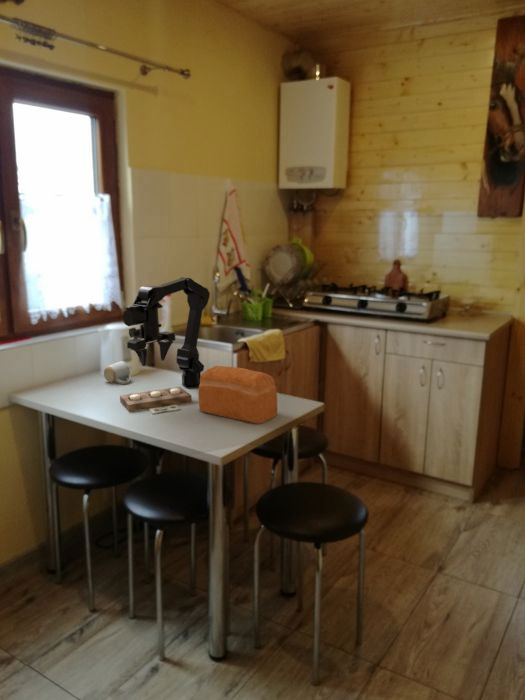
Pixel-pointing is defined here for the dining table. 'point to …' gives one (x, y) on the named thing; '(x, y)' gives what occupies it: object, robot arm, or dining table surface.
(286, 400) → the dining table surface
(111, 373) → the ceramic mug
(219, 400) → the bread
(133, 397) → the cream egg
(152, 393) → the off-white egg
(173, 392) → the white egg
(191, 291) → the robot arm
